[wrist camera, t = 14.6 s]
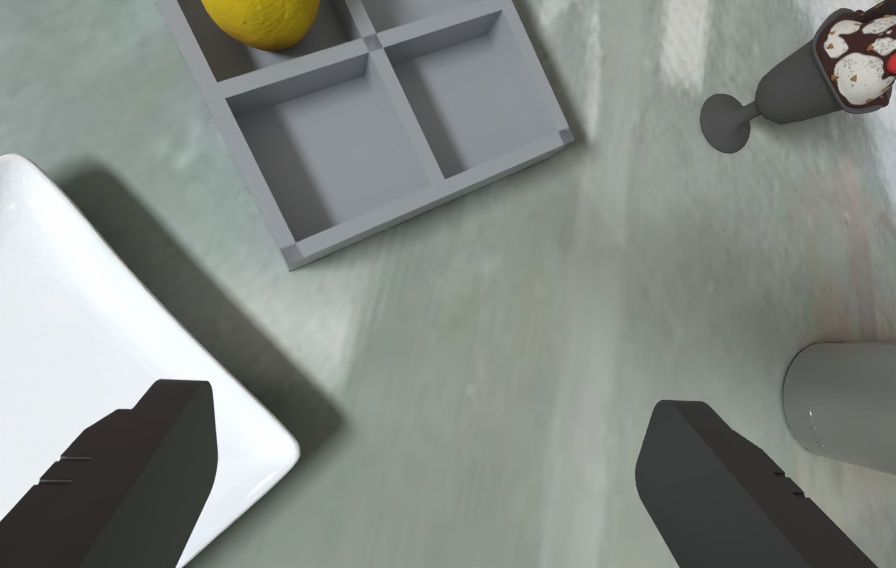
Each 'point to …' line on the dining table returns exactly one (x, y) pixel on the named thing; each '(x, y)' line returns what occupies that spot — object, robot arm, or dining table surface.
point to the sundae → (816, 78)
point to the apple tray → (373, 112)
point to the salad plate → (104, 355)
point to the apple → (264, 20)
